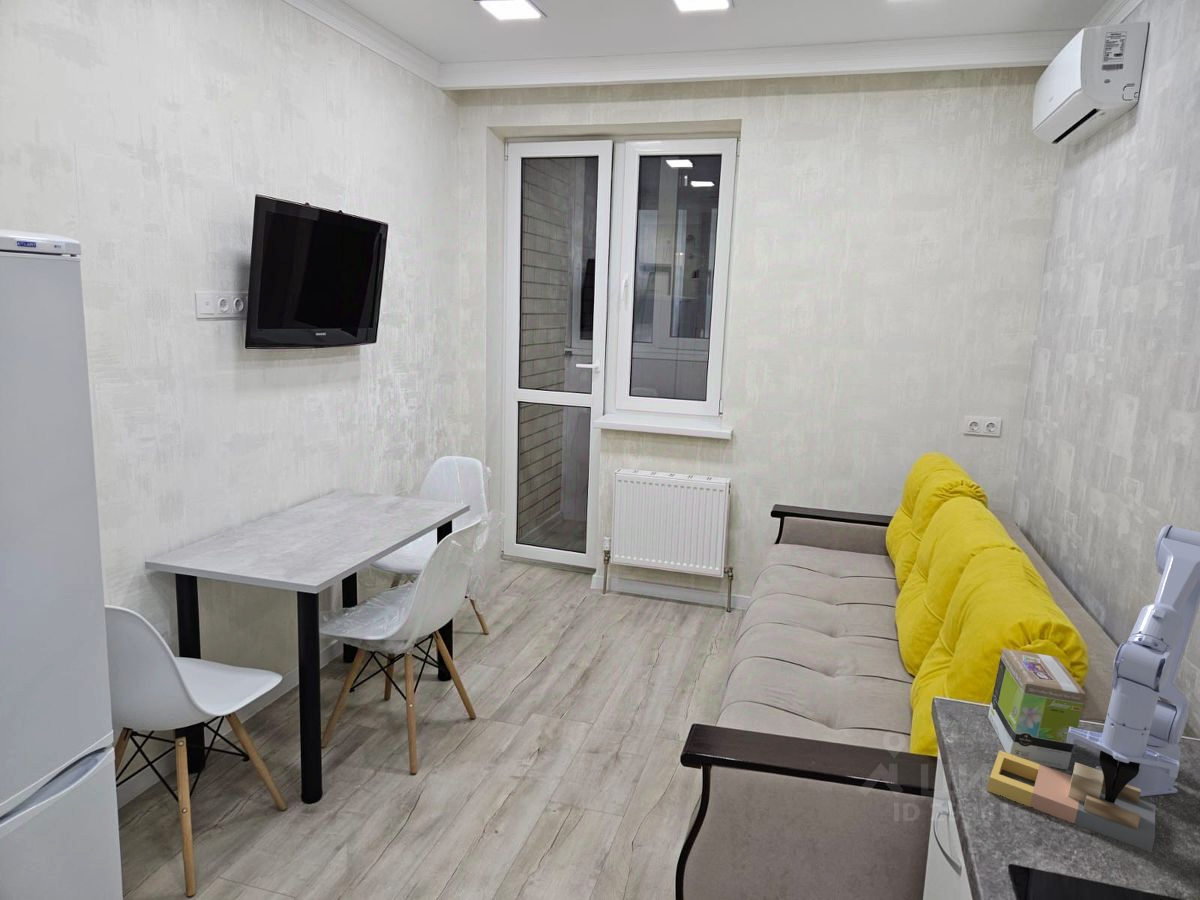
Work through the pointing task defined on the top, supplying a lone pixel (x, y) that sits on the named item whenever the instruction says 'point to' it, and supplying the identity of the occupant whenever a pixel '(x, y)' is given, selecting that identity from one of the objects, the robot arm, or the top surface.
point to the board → (1066, 799)
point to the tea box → (1035, 707)
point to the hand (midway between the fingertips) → (1109, 798)
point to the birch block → (1085, 782)
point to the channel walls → (1116, 807)
